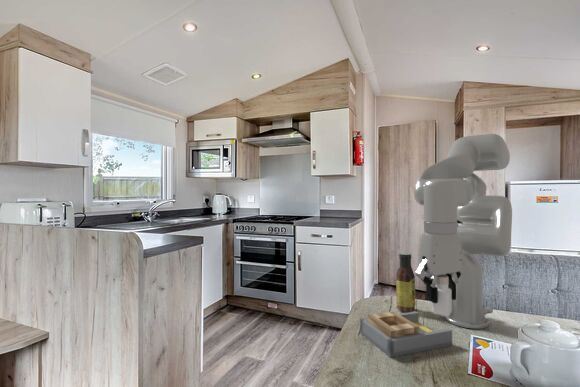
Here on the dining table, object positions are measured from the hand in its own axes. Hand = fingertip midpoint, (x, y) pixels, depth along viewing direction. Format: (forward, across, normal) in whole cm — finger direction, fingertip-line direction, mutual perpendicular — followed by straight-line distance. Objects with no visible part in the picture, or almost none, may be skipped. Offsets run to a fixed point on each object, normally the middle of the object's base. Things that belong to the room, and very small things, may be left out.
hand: (441, 298), depth 77 cm
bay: (+15, +3, -10) cm, 18 cm away
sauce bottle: (+16, -12, -28) cm, 34 cm away
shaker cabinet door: (+13, +7, -10) cm, 18 cm away
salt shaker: (+4, 0, 0) cm, 4 cm away
